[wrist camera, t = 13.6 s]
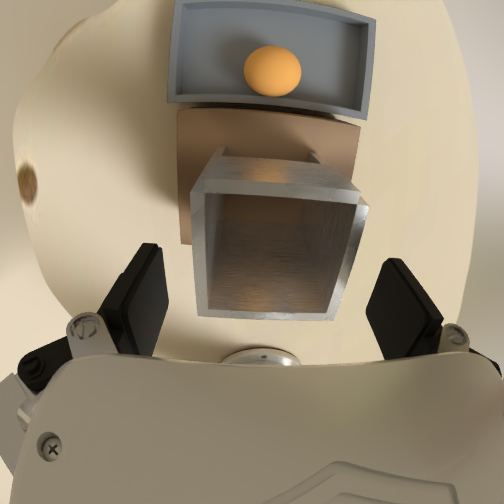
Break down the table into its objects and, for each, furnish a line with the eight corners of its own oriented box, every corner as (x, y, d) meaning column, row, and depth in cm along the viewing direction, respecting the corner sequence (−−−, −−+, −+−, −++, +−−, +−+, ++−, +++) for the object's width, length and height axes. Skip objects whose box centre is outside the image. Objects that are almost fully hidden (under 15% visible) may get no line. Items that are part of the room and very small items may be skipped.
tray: (355, 117, 20) (366, 120, 18) (175, 101, 19) (167, 102, 17) (364, 25, 15) (375, 19, 13) (182, 6, 14) (175, -2, 12)
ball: (297, 58, 17) (294, 103, 18) (245, 53, 17) (242, 98, 18) (307, 42, 13) (305, 94, 15) (246, 35, 13) (241, 88, 15)
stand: (320, 224, 25) (334, 253, 21) (192, 216, 25) (181, 244, 21) (338, 119, 20) (360, 127, 16) (193, 107, 19) (177, 110, 15)
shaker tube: (304, 230, 20) (333, 320, 12) (217, 225, 20) (197, 315, 12) (317, 145, 16) (372, 193, 9) (219, 137, 16) (189, 178, 9)
